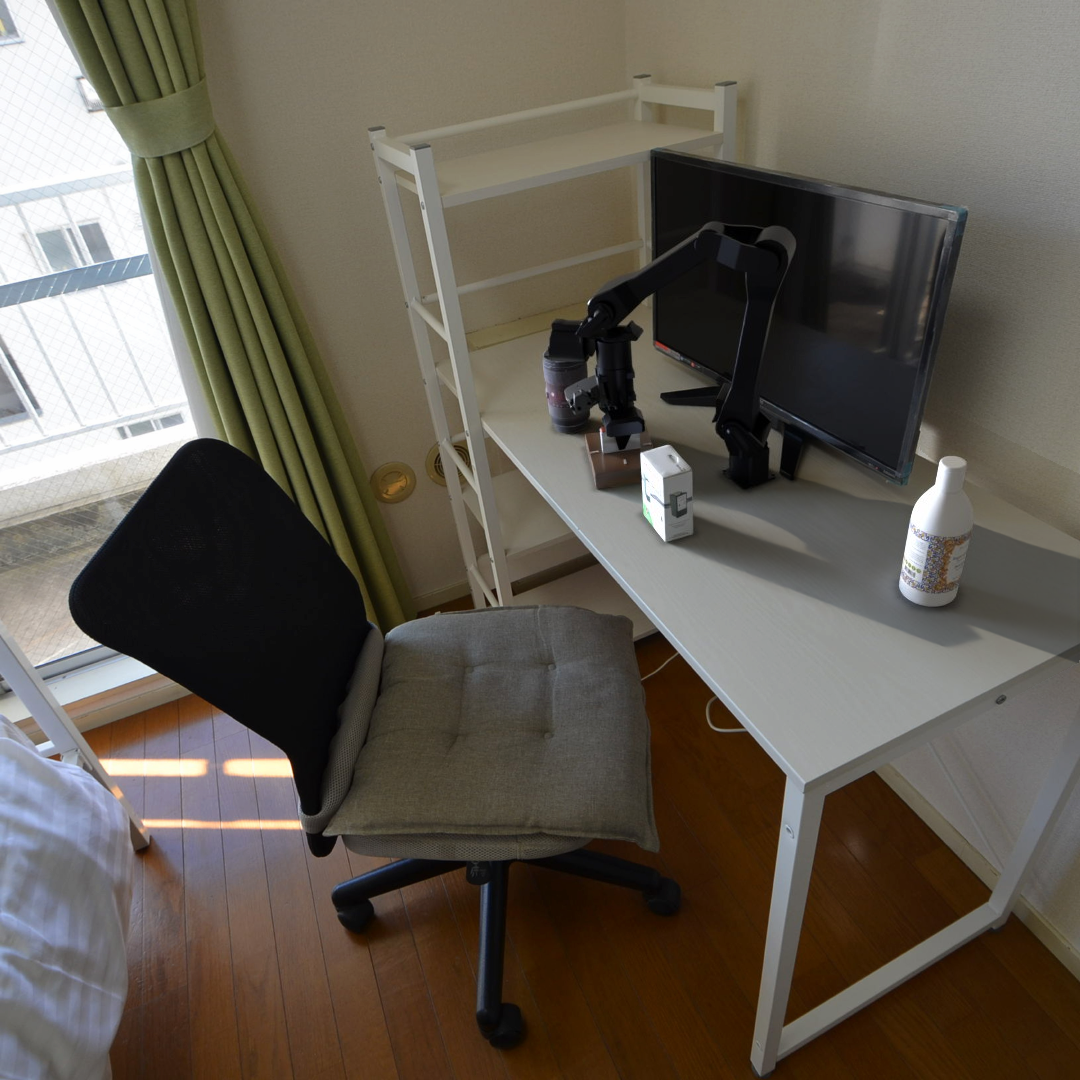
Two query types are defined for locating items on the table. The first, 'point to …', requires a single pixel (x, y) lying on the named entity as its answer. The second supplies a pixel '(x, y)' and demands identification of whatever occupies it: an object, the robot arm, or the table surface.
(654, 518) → the ink box
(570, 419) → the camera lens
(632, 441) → the small grey box
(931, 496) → the bath foam
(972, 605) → the table surface
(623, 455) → the brown flat block
